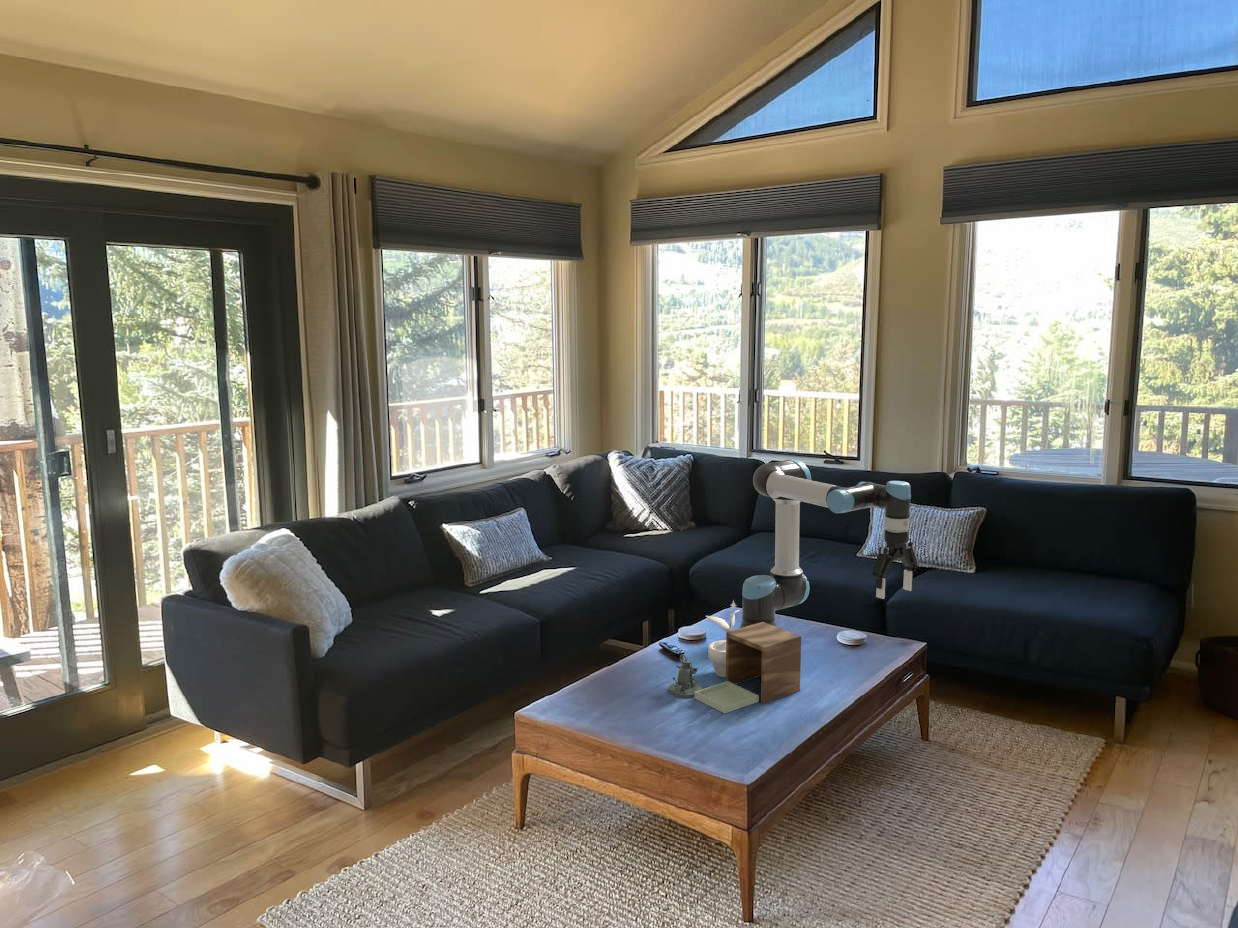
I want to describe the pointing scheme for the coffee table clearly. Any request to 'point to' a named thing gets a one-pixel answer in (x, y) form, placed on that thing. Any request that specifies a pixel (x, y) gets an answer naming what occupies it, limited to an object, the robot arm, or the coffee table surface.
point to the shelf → (764, 659)
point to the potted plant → (720, 644)
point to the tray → (726, 697)
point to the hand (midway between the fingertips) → (894, 593)
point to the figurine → (685, 680)
